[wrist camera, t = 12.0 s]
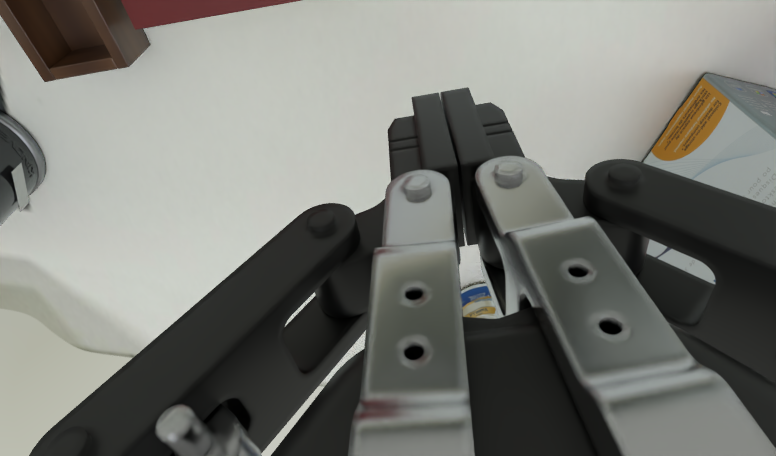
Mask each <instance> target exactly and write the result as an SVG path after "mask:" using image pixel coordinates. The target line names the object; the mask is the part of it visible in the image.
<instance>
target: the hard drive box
mask: <svg viewBox="0 0 776 456" xmlns="http://www.w3.org/2000/svg"><path fill="white" fill-rule="evenodd" d="M643 163H645V164H648V165H651V166H654V167H657V168H660V169H663V170H666V171H669V172H672V173H675V174H678V175H681V176H684V177H686V178H689V179H692V180H695V181H698V182H701V183H704V184H707V185H710V186H713V187H716V188H719V189H722V190H725V191H728V192H731V193H734V194H737V195H740V196H743V197H746V198H749V199H752V200H755V201H758V202H761V203H764V204H767V205H770V206H773V207H776V90H775V89H771V88H768V87H764V86H760V85H756V84H752V83H747V82H743V81H739V80H735V79H731V78H727V77H722V76H718V75H714V74H708V73H707V74H705V75H704V76H703V78H702V79H701V80H700V82H699V83H698V85H697V86H696V88H695V89H694V90H693V92H692V93H691V95H690V96H689V97H688V99H687V100H686V102H685V103H684V104H683V105H682V106H681V107H680V108H679V109H678V111H677V112H676V114H675V115H674V117H673V118H672V120H671V121H670V123H669V125H668V127H667V128H666V130H665V131H664V133H663V134H662V136H661V137H660V139H659V140H658V142H657V143H656V144H655V146H654V147H653V149H652V150H651V152H650V153H649V155H648V156H647V157H646V159H645V160H644V162H643ZM646 253H647V254H649V255H651V256H653V257H655V258H658V259H660V260H662V261H664V262H666V263H669V264H671V265H673V266H675V267H677V268H679V269H682V270H684V271H686V272H688V273H690V274H692V275H695V276H697V277H699V278H701V279H703V280H705V281H708V282H710V283H712V284H715V282H716V280H715V276H714V274H713V272H712V271H711V269H710V268H709V267H708V266H706V265H705V264H704V263H702V262H701V261H699V260H696V259H694V258H692V257H690V256H687V255H685V254H683V253H680V252H678V251H676V250H674V249H671V248H669V247H667V246H664V245H662V244H660V243H658V242H655V241H653V240H651V239H650V240H649V244H648V248H647V252H646Z"/></svg>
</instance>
